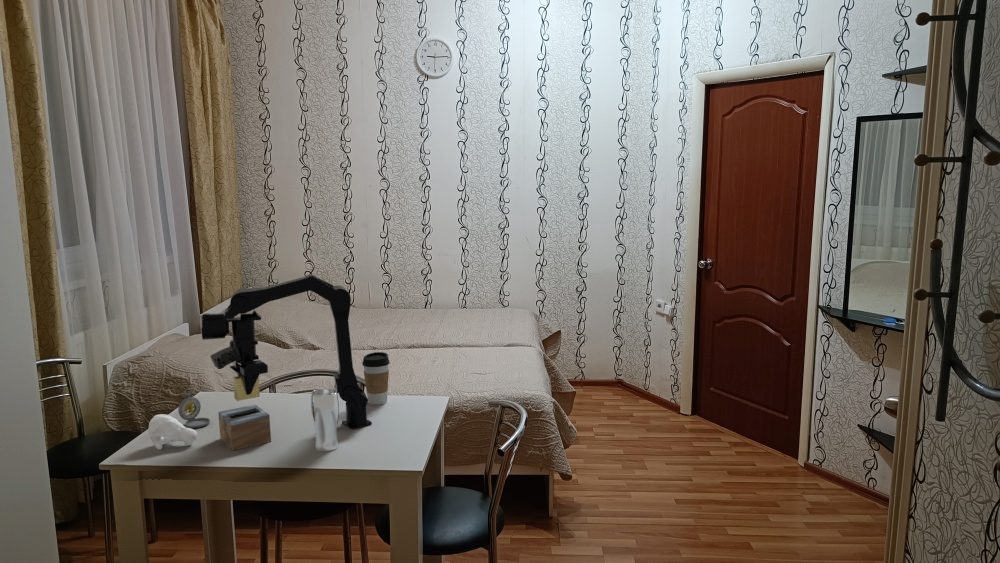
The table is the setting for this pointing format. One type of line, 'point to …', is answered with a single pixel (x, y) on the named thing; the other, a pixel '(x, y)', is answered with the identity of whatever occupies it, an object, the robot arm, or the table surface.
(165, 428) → the white animal skull
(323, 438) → the beer glass
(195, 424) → the pocket watch
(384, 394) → the coffee cup
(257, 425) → the box
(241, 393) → the block
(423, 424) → the table surface
